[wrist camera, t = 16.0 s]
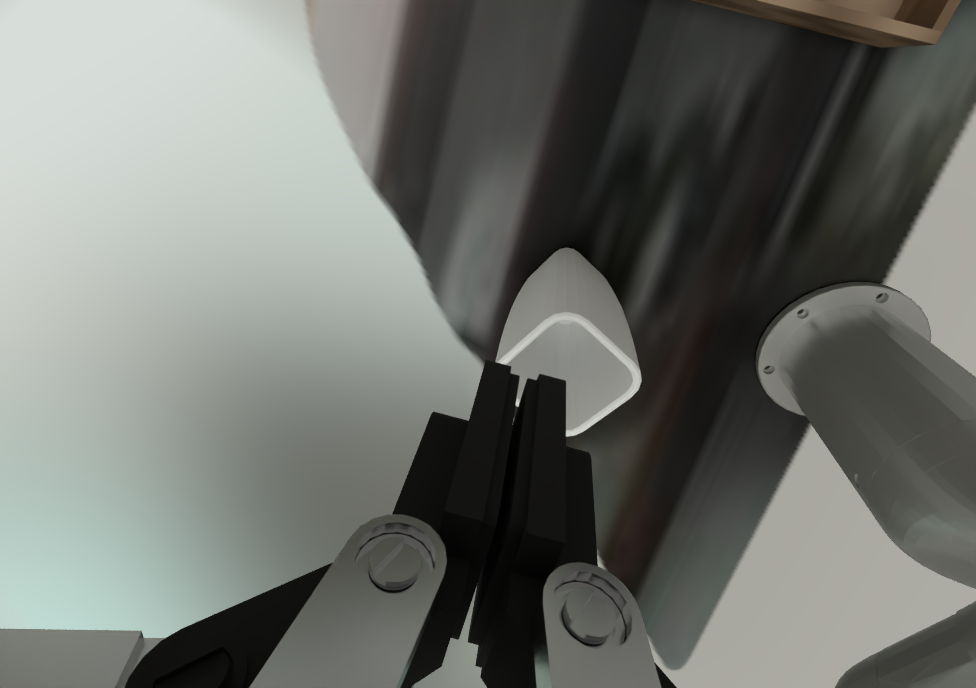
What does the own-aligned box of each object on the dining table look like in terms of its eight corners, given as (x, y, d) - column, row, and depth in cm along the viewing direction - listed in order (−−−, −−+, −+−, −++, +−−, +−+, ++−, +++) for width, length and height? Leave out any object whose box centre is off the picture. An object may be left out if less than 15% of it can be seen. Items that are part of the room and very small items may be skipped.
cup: (506, 285, 44) (480, 377, 31) (567, 226, 40) (567, 301, 27) (564, 338, 45) (564, 446, 32) (627, 285, 42) (654, 382, 29)
